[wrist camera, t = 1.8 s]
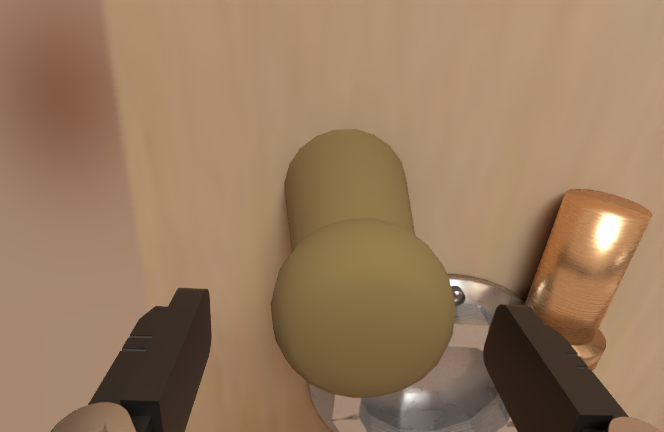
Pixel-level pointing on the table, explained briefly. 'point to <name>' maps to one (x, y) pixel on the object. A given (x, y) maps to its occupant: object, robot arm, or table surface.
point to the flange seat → (437, 379)
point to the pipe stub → (586, 266)
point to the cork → (358, 273)
